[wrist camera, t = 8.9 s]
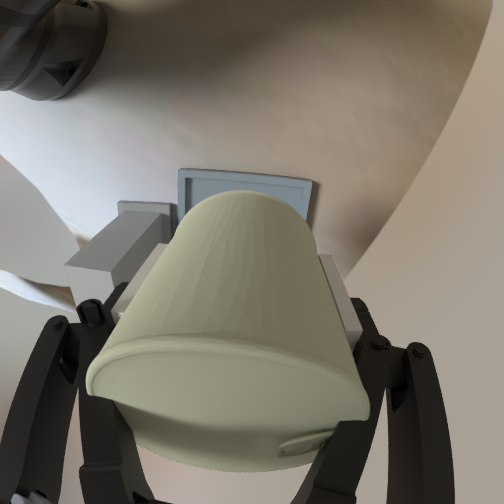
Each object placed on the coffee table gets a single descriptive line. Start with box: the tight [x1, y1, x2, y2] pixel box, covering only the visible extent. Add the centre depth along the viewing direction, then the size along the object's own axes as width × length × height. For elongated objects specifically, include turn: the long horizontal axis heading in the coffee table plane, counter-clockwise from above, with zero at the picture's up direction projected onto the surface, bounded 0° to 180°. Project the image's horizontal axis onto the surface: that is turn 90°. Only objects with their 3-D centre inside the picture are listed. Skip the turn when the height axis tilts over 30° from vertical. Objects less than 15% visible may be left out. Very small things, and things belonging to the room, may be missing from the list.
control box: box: [64, 201, 172, 306], centre depth 27 cm, size 10×7×15 cm
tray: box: [178, 168, 312, 225], centre depth 32 cm, size 15×15×1 cm
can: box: [86, 190, 370, 472], centre depth 12 cm, size 9×9×12 cm
